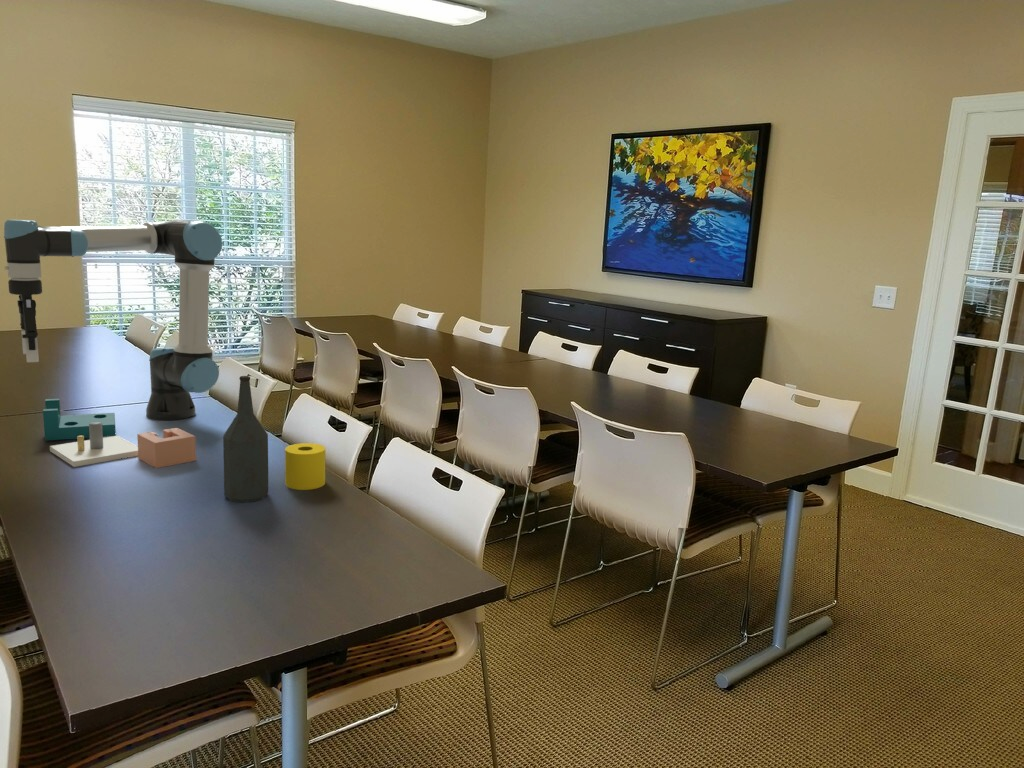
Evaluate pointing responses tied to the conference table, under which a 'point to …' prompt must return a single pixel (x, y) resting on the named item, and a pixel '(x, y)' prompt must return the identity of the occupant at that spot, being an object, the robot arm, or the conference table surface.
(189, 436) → the orange arch block
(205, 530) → the conference table surface
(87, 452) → the base
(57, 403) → the teal l-shaped bracket
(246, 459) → the bottle
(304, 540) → the conference table surface
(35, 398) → the conference table surface
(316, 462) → the yellow toilet paper roll
